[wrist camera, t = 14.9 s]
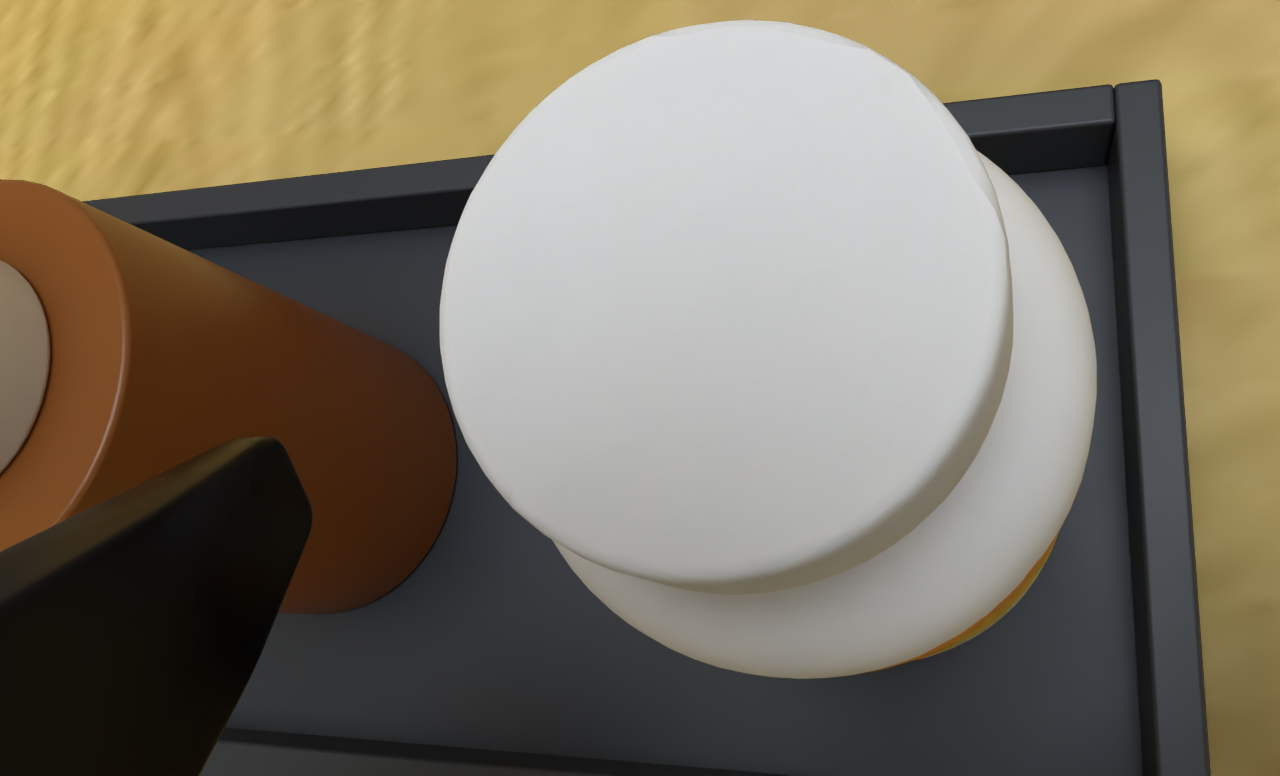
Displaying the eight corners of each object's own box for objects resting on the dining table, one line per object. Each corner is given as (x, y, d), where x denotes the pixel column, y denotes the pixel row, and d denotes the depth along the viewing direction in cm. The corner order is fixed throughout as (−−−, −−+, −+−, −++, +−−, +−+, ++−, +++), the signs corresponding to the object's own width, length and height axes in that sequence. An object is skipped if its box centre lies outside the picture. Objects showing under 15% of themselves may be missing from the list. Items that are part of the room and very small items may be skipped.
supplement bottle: (1143, 555, 15) (1351, 434, 6) (798, 725, 16) (513, 851, 7) (942, 243, 16) (862, -222, 8) (645, 412, 17) (261, 179, 9)
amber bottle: (260, 660, 19) (-463, 688, 10) (191, 414, 20) (-481, 235, 11) (497, 539, 18) (-51, 439, 9) (405, 290, 20) (-138, -18, 10)
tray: (-212, 715, 23) (-325, 723, 21) (-124, 265, 25) (-218, 234, 23) (1190, 849, 14) (1219, 882, 12) (1143, 141, 16) (1162, 76, 14)
